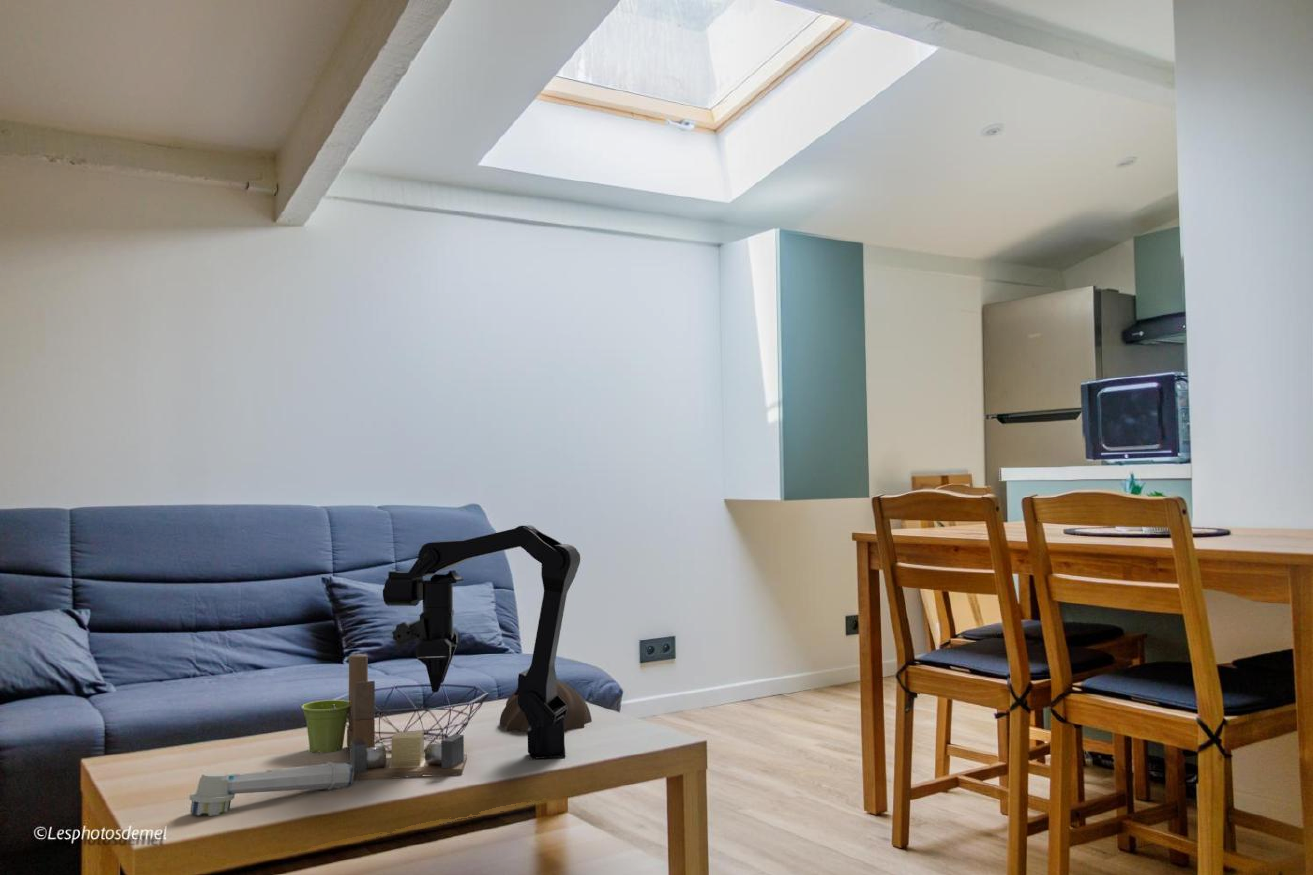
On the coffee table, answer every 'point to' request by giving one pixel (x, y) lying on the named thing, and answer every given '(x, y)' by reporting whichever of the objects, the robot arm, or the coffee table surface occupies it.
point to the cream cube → (407, 749)
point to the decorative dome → (573, 719)
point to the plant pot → (326, 724)
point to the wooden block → (361, 702)
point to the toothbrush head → (265, 784)
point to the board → (408, 770)
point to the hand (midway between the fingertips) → (437, 687)
